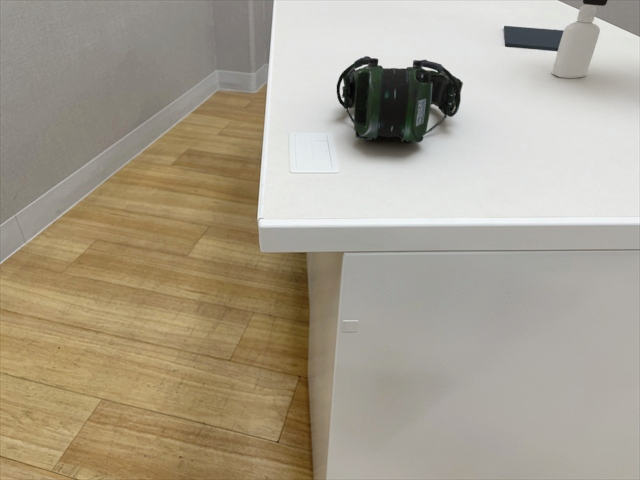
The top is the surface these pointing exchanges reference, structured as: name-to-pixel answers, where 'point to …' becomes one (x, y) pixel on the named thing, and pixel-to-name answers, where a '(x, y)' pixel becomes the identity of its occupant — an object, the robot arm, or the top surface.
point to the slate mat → (532, 38)
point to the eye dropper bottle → (577, 45)
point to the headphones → (397, 98)
